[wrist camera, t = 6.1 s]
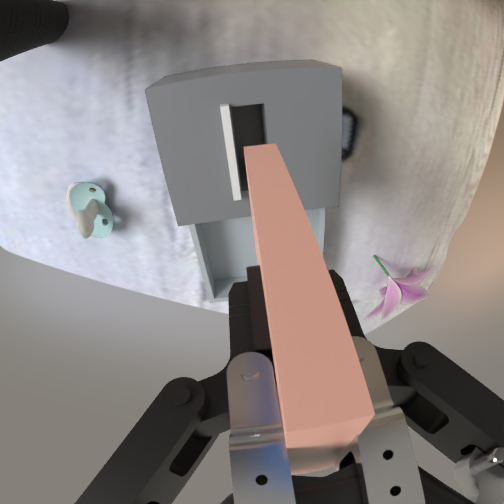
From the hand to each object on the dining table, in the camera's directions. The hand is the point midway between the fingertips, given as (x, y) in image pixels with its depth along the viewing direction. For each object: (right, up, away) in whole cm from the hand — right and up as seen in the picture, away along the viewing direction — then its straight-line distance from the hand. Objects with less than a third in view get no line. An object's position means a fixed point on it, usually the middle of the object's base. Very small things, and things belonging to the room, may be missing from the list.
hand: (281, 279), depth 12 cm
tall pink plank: (0, +4, +5) cm, 6 cm away
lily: (+19, -1, +32) cm, 37 cm away
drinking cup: (-21, +24, +7) cm, 33 cm away
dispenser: (-2, +14, +17) cm, 22 cm away
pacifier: (-20, +7, +21) cm, 30 cm away
